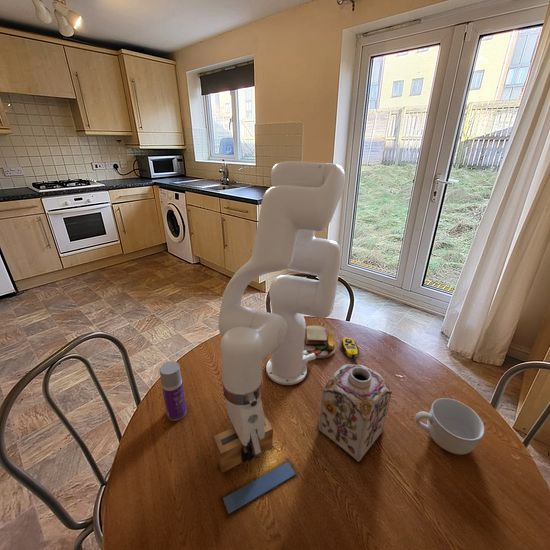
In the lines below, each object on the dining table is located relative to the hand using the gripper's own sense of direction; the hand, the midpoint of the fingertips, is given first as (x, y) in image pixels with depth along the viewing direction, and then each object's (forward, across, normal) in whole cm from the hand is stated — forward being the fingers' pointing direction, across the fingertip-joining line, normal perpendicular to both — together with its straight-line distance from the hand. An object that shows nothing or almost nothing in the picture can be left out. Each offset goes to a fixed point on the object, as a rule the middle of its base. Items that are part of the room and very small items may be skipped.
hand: (244, 448), depth 65 cm
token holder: (+1, 0, 0) cm, 1 cm away
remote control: (+2, +14, -45) cm, 47 cm away
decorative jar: (+2, -7, -25) cm, 26 cm away
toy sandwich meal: (+2, +23, -37) cm, 44 cm away
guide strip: (+2, -8, 0) cm, 8 cm away
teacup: (+2, -19, -43) cm, 47 cm away
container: (+2, +18, +11) cm, 21 cm away
